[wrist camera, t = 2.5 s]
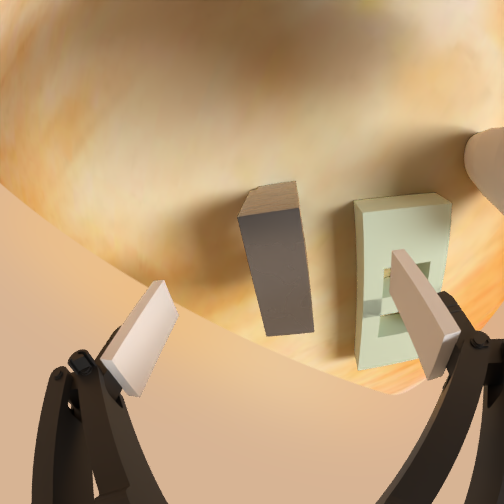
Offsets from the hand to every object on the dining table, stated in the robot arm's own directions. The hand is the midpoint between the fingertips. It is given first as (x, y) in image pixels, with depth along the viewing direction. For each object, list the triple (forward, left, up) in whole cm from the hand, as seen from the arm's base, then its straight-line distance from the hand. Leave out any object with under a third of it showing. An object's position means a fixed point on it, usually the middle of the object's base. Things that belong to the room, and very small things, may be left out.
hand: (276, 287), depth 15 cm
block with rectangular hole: (+8, +10, -9) cm, 16 cm away
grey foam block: (0, 0, -9) cm, 9 cm away
